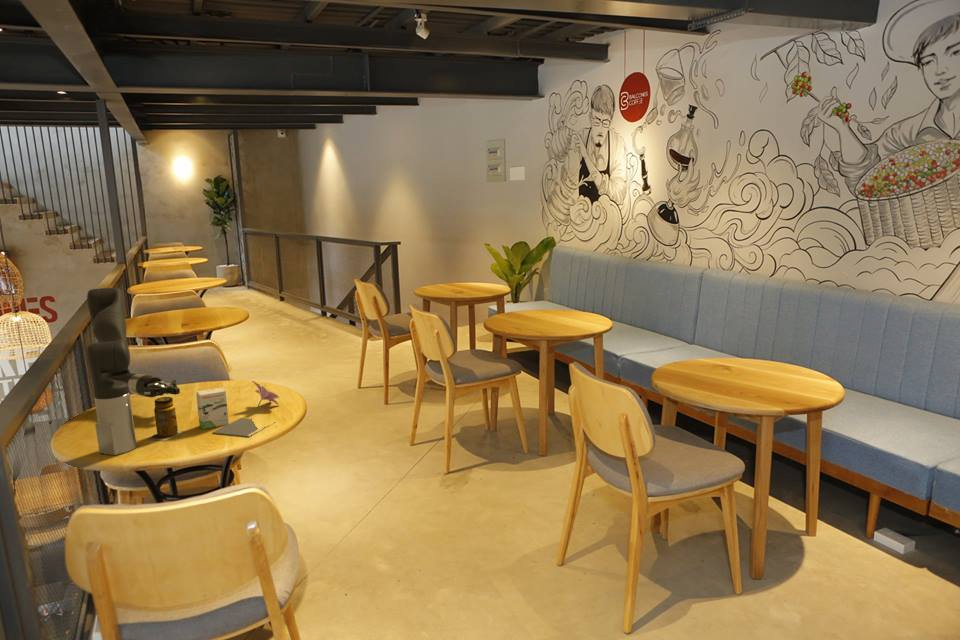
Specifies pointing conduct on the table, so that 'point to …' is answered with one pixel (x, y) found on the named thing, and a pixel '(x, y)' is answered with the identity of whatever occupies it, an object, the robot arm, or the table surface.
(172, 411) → the condiment
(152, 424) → the table surface
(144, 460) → the table surface
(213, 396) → the ink box
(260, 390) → the lily
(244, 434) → the mat
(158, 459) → the table surface
